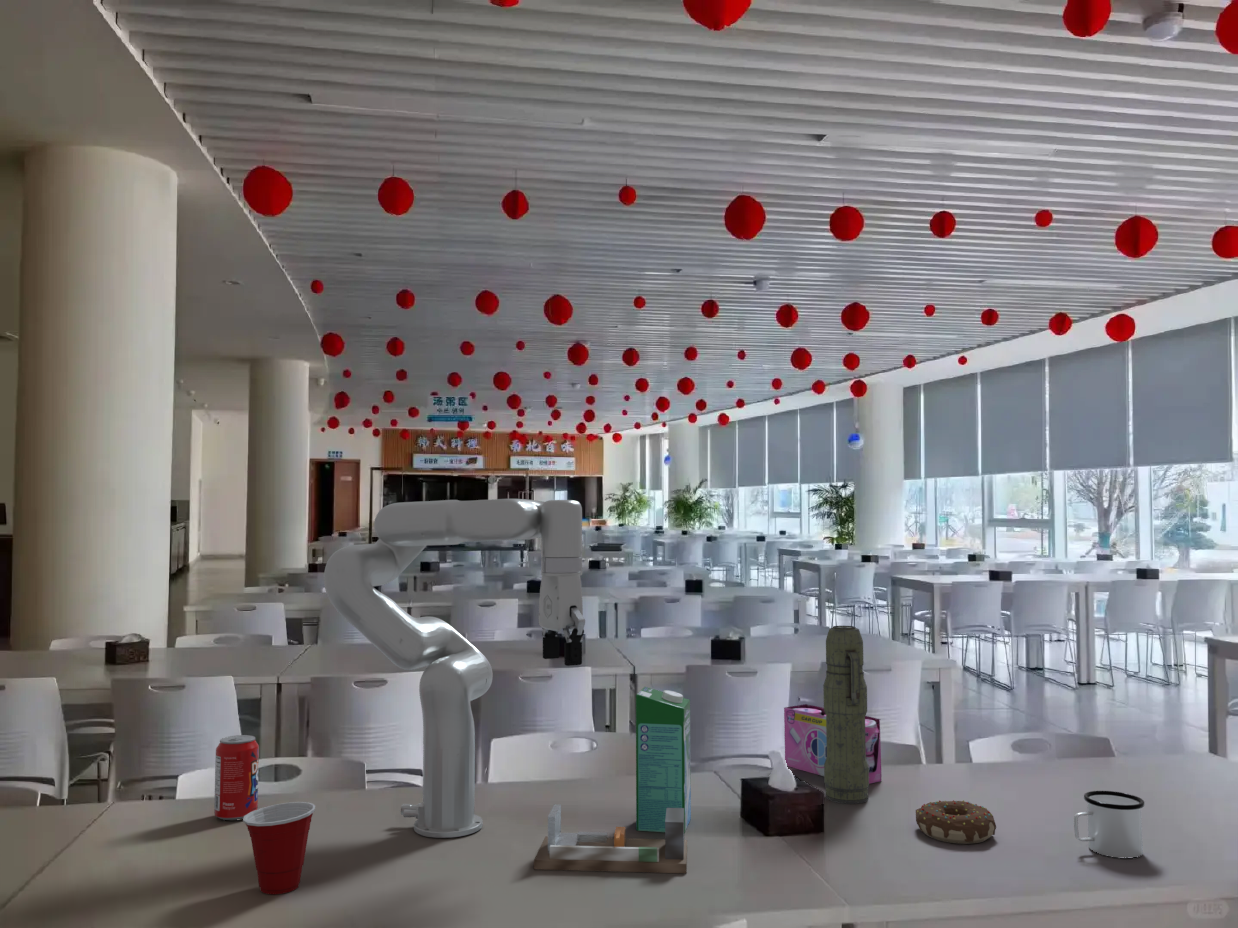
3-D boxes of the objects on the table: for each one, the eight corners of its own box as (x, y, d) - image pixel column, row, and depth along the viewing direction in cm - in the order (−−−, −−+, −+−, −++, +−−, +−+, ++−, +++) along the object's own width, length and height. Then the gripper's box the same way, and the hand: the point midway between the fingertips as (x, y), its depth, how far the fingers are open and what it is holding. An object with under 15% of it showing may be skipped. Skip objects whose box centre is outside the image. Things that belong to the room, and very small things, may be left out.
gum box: (888, 782, 212) (886, 719, 213) (863, 788, 208) (862, 724, 208) (806, 761, 232) (806, 703, 232) (783, 765, 227) (782, 707, 228)
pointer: (612, 855, 159) (612, 837, 159) (616, 841, 166) (616, 824, 167) (622, 855, 159) (622, 838, 159) (625, 841, 166) (625, 824, 167)
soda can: (204, 820, 186) (206, 740, 187) (235, 808, 193) (236, 732, 194) (236, 824, 183) (238, 744, 184) (266, 813, 190) (267, 735, 191)
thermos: (851, 788, 207) (849, 623, 210) (880, 803, 196) (877, 629, 198) (814, 791, 205) (811, 624, 207) (840, 807, 194) (838, 630, 196)
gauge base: (533, 869, 159) (534, 822, 160) (545, 845, 171) (545, 801, 172) (686, 873, 157) (686, 826, 158) (687, 848, 169) (686, 804, 170)
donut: (1007, 834, 177) (1007, 806, 178) (976, 853, 167) (976, 823, 168) (933, 818, 187) (932, 791, 187) (900, 835, 177) (899, 807, 177)
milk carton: (684, 834, 177) (683, 695, 179) (636, 831, 179) (635, 693, 181) (690, 819, 186) (690, 687, 188) (644, 816, 188) (644, 685, 189)
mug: (1123, 841, 173) (1121, 789, 173) (1159, 859, 164) (1157, 804, 164) (1060, 844, 172) (1058, 791, 172) (1092, 862, 162) (1090, 807, 163)
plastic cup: (252, 876, 157) (254, 800, 157) (321, 874, 157) (322, 798, 158) (231, 902, 146) (233, 821, 146) (305, 900, 147) (306, 819, 147)
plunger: (547, 853, 162) (547, 816, 162) (554, 839, 169) (554, 804, 169) (605, 854, 161) (605, 817, 161) (608, 840, 168) (608, 805, 168)
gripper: (524, 566, 184) (524, 657, 183) (562, 569, 168) (562, 669, 167) (561, 565, 187) (561, 654, 186) (601, 568, 172) (601, 666, 171)
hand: (561, 661), depth 177 cm, fingers open, 9 cm apart
